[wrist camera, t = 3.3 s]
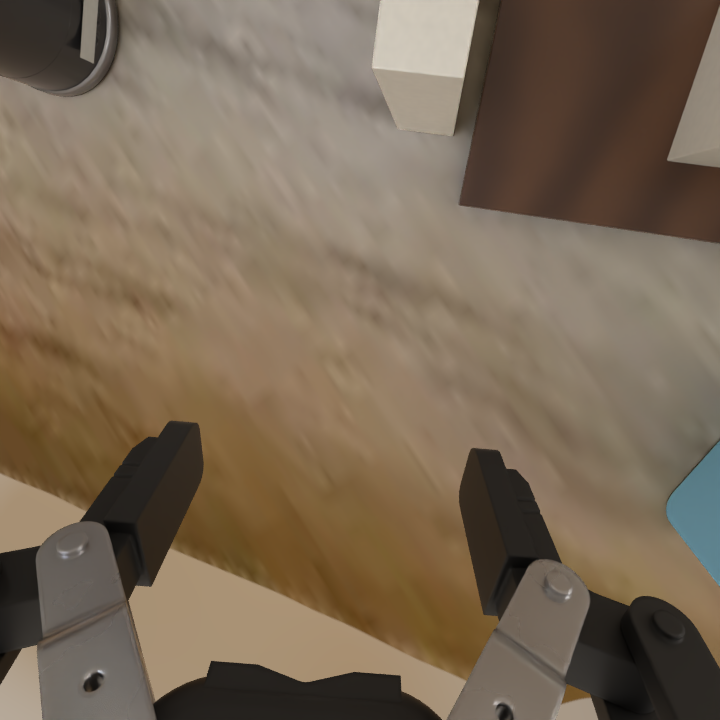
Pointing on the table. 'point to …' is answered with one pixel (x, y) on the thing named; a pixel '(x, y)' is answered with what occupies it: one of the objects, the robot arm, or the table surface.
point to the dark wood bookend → (593, 116)
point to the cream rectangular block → (702, 111)
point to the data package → (700, 511)
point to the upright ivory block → (423, 60)
